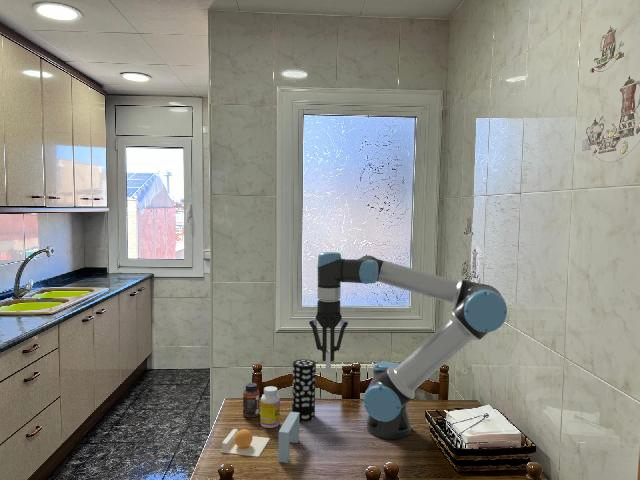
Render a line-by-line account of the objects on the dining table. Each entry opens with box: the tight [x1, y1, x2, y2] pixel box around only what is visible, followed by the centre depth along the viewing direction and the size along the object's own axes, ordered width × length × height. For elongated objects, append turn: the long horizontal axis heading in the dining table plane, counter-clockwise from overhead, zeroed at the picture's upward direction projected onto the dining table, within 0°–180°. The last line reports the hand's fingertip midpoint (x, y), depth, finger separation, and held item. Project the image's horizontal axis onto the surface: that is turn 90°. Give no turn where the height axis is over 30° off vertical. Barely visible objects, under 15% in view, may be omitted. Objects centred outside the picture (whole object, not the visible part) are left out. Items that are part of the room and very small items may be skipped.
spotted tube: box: [291, 358, 317, 422], centre depth 172 cm, size 8×8×20 cm
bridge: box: [277, 411, 300, 463], centre depth 148 cm, size 3×14×9 cm, turn 169°
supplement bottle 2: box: [259, 385, 281, 429], centre depth 165 cm, size 7×7×13 cm
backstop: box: [221, 428, 239, 451], centre depth 151 cm, size 2×10×2 cm, turn 170°
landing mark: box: [220, 435, 271, 458], centre depth 151 cm, size 12×12×1 cm
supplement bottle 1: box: [242, 382, 260, 419], centre depth 173 cm, size 6×6×11 cm
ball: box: [235, 428, 253, 448], centre depth 149 cm, size 6×6×6 cm
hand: (328, 370), depth 155 cm, fingers closed
